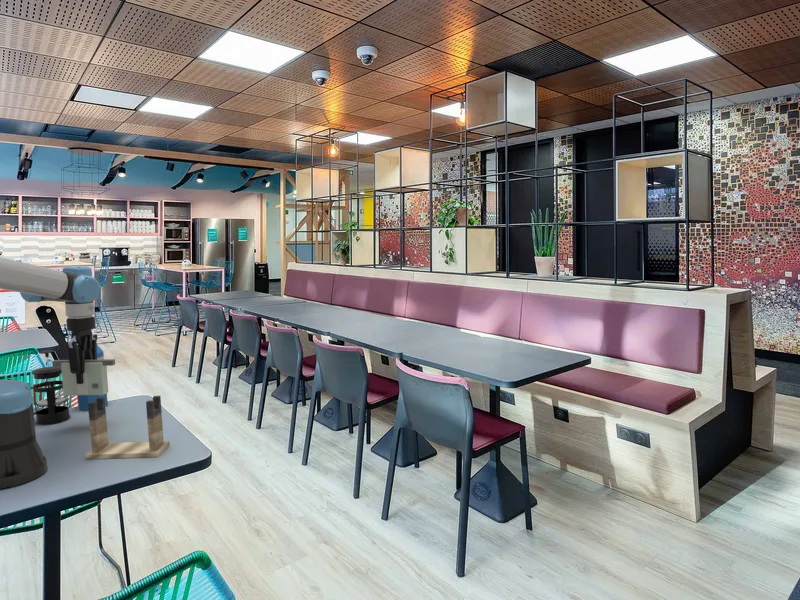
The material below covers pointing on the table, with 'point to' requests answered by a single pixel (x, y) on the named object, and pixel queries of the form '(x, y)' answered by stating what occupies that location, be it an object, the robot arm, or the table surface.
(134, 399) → the table surface
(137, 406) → the table surface
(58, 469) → the table surface
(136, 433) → the table surface
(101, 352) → the water bottle
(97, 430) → the hinge frame
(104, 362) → the hanging file folder
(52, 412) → the french press
